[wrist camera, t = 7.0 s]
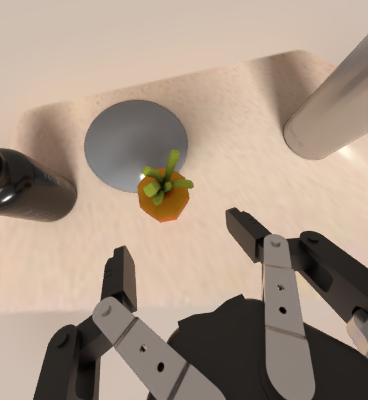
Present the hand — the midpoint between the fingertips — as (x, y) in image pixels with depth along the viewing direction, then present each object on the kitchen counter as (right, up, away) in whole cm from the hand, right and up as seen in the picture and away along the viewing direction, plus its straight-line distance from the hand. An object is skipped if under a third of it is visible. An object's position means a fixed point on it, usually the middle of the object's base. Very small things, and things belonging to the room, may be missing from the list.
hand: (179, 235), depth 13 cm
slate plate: (-7, +12, +15) cm, 20 cm away
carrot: (-2, +1, +13) cm, 13 cm away
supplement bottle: (-19, +3, +12) cm, 22 cm away
